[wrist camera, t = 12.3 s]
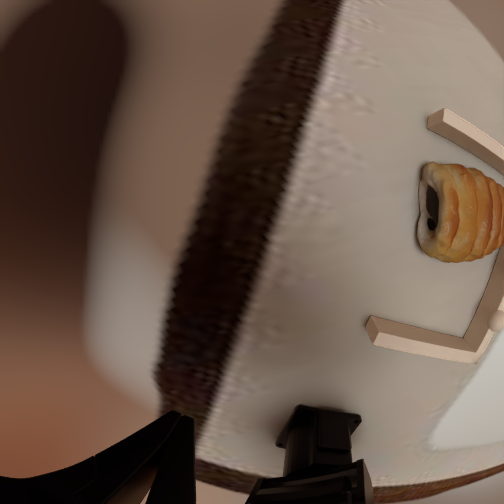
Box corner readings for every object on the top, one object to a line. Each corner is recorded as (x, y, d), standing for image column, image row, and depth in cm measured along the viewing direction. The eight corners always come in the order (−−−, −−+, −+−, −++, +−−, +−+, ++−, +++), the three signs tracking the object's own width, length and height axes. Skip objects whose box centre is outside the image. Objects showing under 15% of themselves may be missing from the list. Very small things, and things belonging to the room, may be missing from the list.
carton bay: (467, 350, 17) (483, 370, 14) (365, 327, 18) (375, 352, 15) (524, 178, 13) (548, 180, 10) (428, 116, 14) (451, 104, 11)
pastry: (502, 176, 14) (531, 177, 10) (498, 257, 15) (524, 270, 12) (413, 161, 15) (438, 156, 12) (410, 257, 17) (433, 274, 13)
